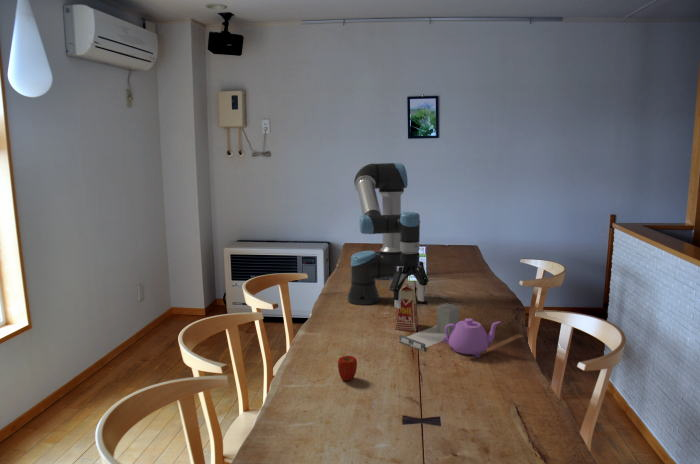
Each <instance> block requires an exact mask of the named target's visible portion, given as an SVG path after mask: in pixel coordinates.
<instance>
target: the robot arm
mask: <svg viewBox="0 0 700 464" xmlns="http://www.w3.org/2000/svg"><path fill="white" fill-rule="evenodd" d="M407 173H408V172H407V169H406V167H405V165H404V164H403V163H398V162H390V163H389V162H386V163H380V162H379V163H369V164H366V165H364V166H363V167H361V168H360V169H359V170H357V173H356V174H355V176H354V183H353V184H354V185H353V186H354V189H355V191H356V192H357V193H358V197H359V204H360V206H361V213H362V215H360V217H359V230H360V231H359V232H360V233H361V234H362V235H365V234H366V235H367V234H368V235H376V234H378V235H379V234H381V235H382V247H381V248H379V253H376V251H374V250H363V251H358V252H355V253H353V254H352V255H351V257H350V272H351V273H350V281H351V282H350V288H349V292H348V294H347V302H348V301H349V302H348V303H350V304H352V305H359V306H366V305H367V306H368V304H369V305H373V304H377V303H379V302H380V294H379V291H378V288H377V285H376V282H377V281H376V280H378V279H379V280H381V279H382V280H383V279H392V281H391V283H390V287H389V291H391V292H392V293H393V300H394V306H393V307H394V308H396V309H397V308H399V309H400V308H401V292H400V290H401V289H402V288H403V285H404V283H405V281H406V280H407V278H408V277H411V276H413V277H414V278H415V279H416V281H417V282H418V284H417V301H419V302H424V301H425V290H426V289H425V288H426V287H425V286H427V285H428V283H429V278H428V275H427V272H426V270H425V266H424V262H423V261H420V235H421V233H420V229H421V228H420V227H421V225H420V224H421V219H420V214H419V213H418V212H415V211H406V212H405V211H404V212H402V207H401V206H402V202H401V201H402V198H401V196H402V195H403V193H404V192H405V189H407V188H408V182H409V181H408V174H407ZM376 190H378V193H379V194H380V195H381V197H382V200H381V201H382V212H381V209H380V204H379V200H378V199H379V198H378V196H377V192H376Z"/></svg>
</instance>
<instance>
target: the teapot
mask: <svg viewBox="0 0 700 464" xmlns="http://www.w3.org/2000/svg"><path fill="white" fill-rule="evenodd" d="M464 319H465V320H460V321H459V320H458V323H457V324H456V325H455V324H448V325H447V326H446V327H445V332H446V336H447V337H446V336H445V337H444V338H443V341H442V342H443V343H444V344H448V345H449V346H450V348H451V349H452V350H453V351H454V352H456V353H459V354H461V355H470V356H471V355H473V357H474V358H476V359H478V358H479V359H480V358H481V354H482V353H484V352H485V351H486V350H487V349H488V348H489V345H490V344H491V343H492V342H493V341H494V339H495V337H496V328H497V326H498V325H499V324H500V323H501V321H500V320H499V321H495V322H493V323H491V327H490V331H489V333H488V334H487V331H486V330H485V329H484V327H483V326H482V324H481V323H480V322H478V321H476V320H474V319H473V318H469V317H468V318H464ZM450 326H453V327H454V328H453V329H452V331H451V333H450V336H449V334H448V327H450ZM445 338H447V339H446V340H445Z"/></svg>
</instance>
